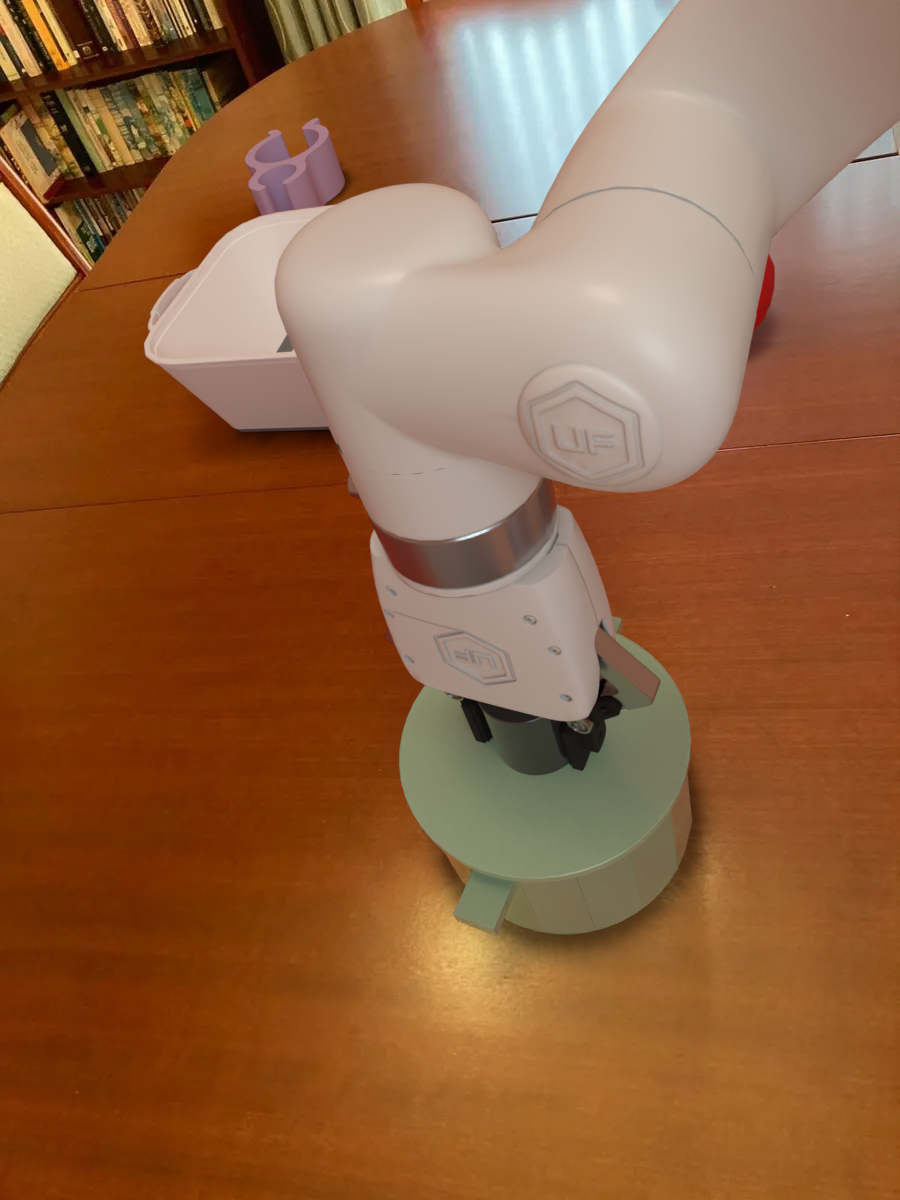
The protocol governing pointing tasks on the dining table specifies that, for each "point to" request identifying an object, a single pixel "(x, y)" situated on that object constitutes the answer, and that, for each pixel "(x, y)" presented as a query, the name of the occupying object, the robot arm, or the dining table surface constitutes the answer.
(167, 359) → the tub
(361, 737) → the dining table surface
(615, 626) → the green pot
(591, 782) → the pot lid
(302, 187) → the clip
